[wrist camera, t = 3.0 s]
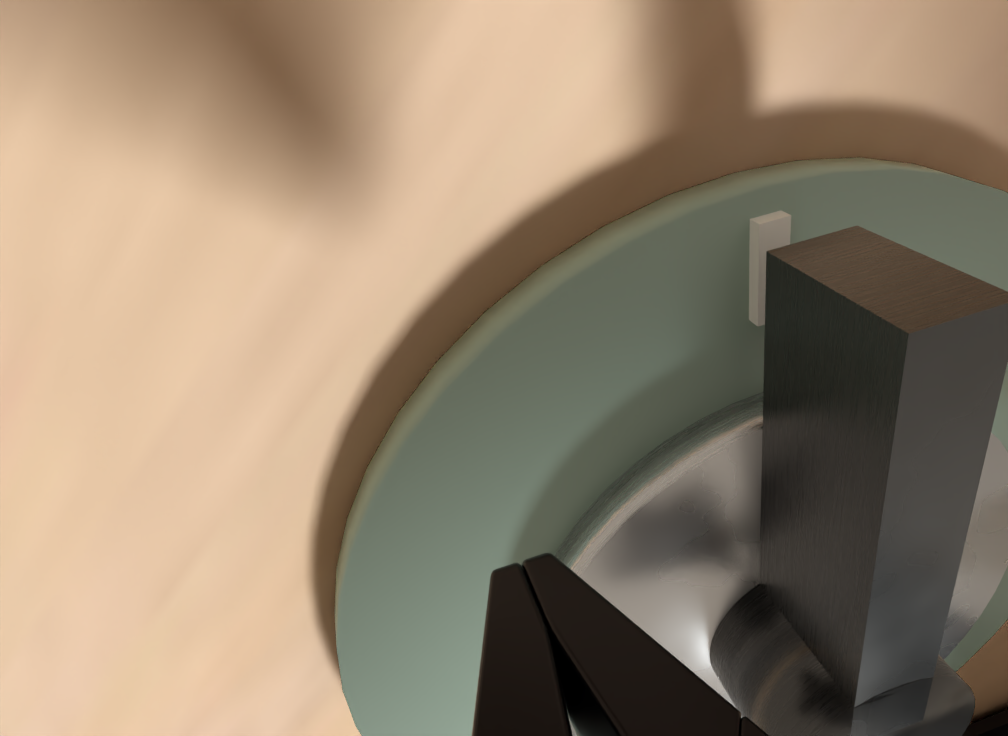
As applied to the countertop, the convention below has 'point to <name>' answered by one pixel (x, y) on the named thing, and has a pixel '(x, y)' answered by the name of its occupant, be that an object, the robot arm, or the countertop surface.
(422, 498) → the dial plate
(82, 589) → the countertop surface
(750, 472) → the dial
